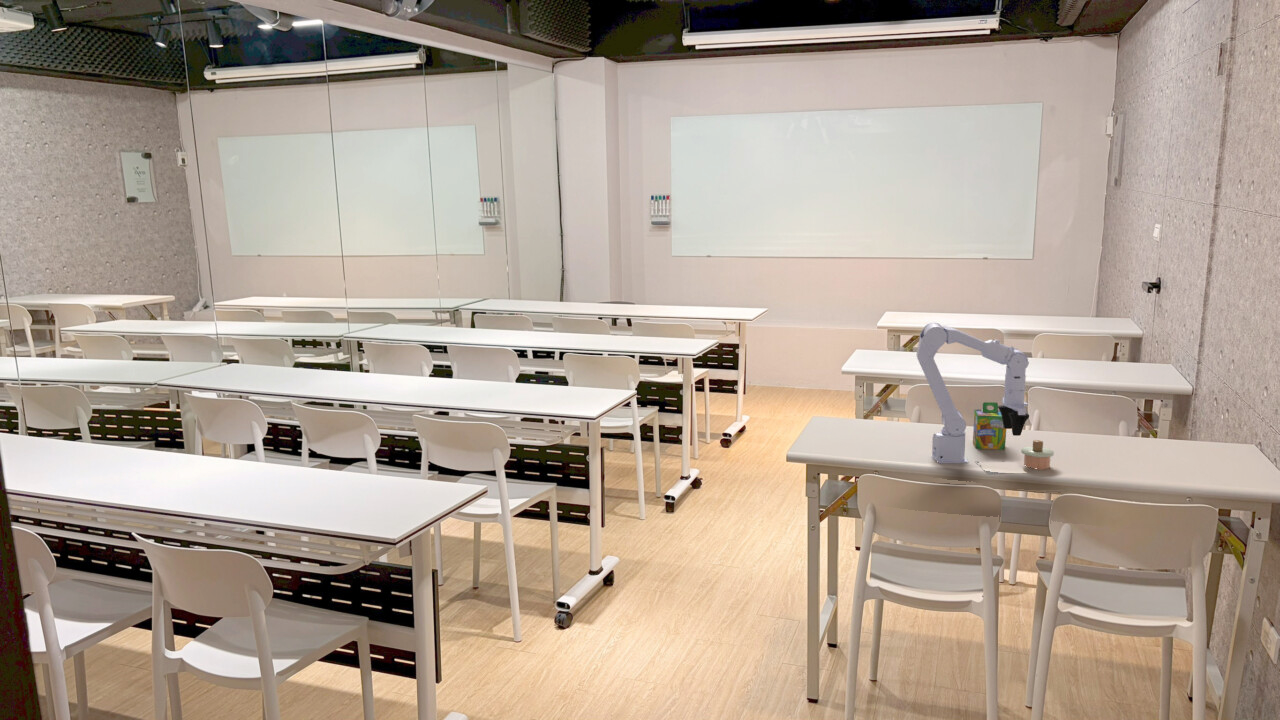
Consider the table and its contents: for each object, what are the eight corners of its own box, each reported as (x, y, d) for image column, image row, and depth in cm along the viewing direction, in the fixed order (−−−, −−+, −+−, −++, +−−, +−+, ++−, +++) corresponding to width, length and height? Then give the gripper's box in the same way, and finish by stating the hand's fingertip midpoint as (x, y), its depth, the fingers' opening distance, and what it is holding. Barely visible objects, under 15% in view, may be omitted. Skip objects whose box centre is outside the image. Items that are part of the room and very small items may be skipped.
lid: (1028, 457, 256) (1029, 446, 256) (1016, 448, 265) (1017, 437, 265) (1059, 457, 256) (1059, 445, 255) (1046, 448, 265) (1046, 437, 264)
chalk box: (975, 450, 280) (977, 406, 277) (972, 442, 289) (973, 399, 286) (1006, 451, 278) (1008, 406, 275) (1001, 443, 287) (1003, 400, 284)
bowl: (1029, 470, 258) (1030, 456, 257) (1020, 463, 265) (1021, 449, 264) (1053, 470, 258) (1054, 456, 257) (1043, 463, 265) (1044, 449, 264)
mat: (987, 475, 256) (987, 473, 256) (974, 462, 268) (974, 461, 267) (1028, 474, 255) (1029, 473, 255) (1013, 462, 267) (1014, 460, 267)
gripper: (1037, 394, 255) (1034, 438, 258) (1019, 383, 269) (1016, 425, 272) (1012, 394, 256) (1010, 438, 258) (996, 383, 270) (994, 425, 272)
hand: (1012, 431), depth 265 cm, fingers open, 7 cm apart
